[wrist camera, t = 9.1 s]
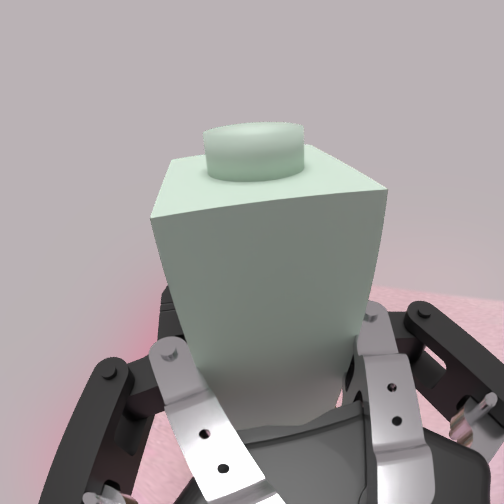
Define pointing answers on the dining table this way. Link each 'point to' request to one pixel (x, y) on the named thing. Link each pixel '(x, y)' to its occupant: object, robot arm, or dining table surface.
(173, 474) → the dining table surface
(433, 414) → the dining table surface
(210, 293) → the sage brick
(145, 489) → the dining table surface
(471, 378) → the robot arm
